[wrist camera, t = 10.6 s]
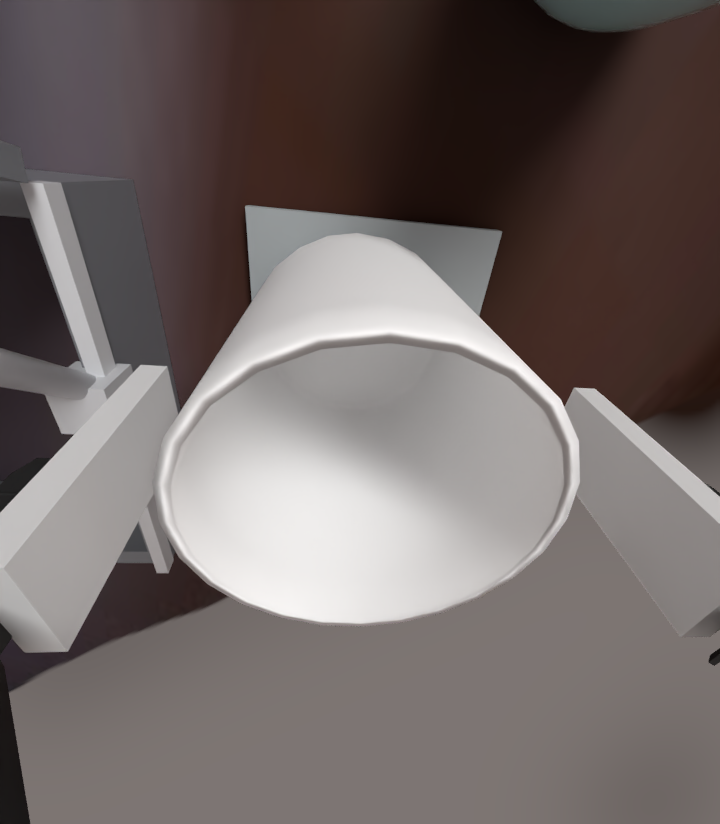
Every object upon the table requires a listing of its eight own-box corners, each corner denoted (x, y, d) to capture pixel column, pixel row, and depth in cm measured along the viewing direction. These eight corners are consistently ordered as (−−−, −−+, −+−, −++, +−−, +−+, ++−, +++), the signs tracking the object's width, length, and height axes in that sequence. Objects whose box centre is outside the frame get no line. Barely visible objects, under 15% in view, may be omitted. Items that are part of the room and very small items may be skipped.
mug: (275, 195, 15) (158, 239, 5) (528, 285, 17) (775, 430, 8) (242, 390, 20) (149, 606, 10) (443, 438, 22) (528, 647, 12)
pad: (247, 205, 15) (245, 206, 15) (497, 230, 17) (502, 231, 16) (262, 419, 21) (260, 425, 21) (444, 427, 22) (446, 433, 22)
